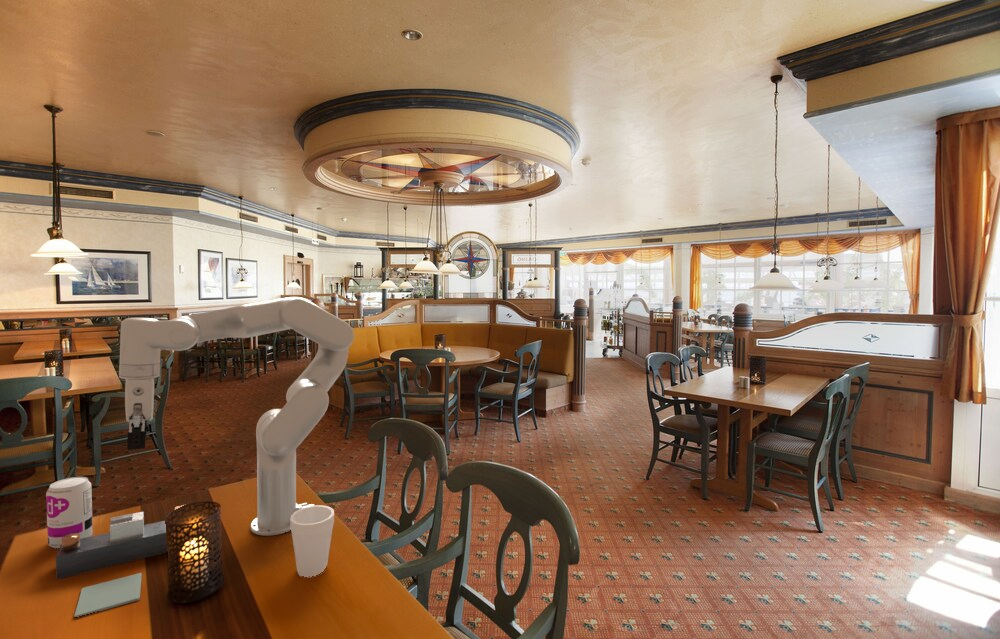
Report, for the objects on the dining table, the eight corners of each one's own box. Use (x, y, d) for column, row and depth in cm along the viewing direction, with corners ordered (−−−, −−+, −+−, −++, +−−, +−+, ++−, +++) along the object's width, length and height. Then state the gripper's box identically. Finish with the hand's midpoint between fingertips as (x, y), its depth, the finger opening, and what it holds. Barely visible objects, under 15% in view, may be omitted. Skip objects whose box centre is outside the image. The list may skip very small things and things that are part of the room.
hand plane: (188, 534, 121) (187, 500, 120) (189, 546, 115) (188, 511, 115) (62, 563, 107) (61, 525, 106) (56, 579, 101) (55, 539, 101)
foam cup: (341, 569, 108) (341, 515, 107) (301, 587, 101) (301, 529, 100) (321, 552, 114) (322, 501, 114) (283, 568, 108) (283, 514, 107)
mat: (141, 574, 104) (141, 572, 104) (139, 599, 96) (139, 597, 96) (82, 590, 98) (82, 588, 98) (74, 618, 90) (74, 616, 90)
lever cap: (143, 527, 114) (143, 509, 114) (143, 535, 111) (142, 516, 110) (112, 534, 111) (111, 515, 111) (110, 542, 107) (109, 523, 107)
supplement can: (65, 552, 111) (64, 491, 110) (39, 547, 113) (36, 487, 112) (101, 534, 119) (99, 477, 118) (75, 530, 121) (73, 474, 120)
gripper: (159, 376, 104) (156, 451, 105) (159, 364, 118) (157, 431, 119) (116, 377, 100) (113, 456, 100) (121, 365, 114) (119, 434, 114)
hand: (137, 442), depth 110 cm, fingers open, 9 cm apart
